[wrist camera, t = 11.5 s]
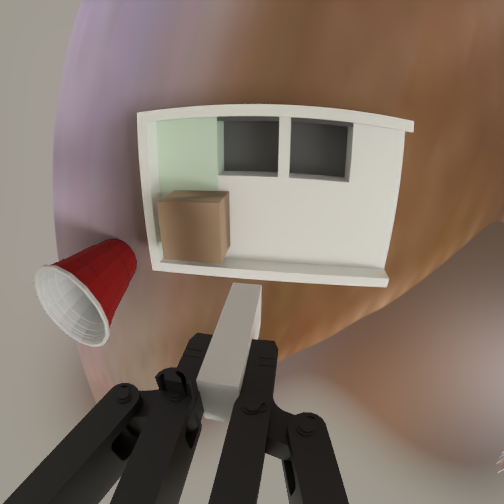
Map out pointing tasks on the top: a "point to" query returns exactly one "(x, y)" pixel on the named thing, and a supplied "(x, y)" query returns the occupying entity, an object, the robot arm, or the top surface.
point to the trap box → (280, 187)
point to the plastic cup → (86, 289)
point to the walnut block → (195, 225)
